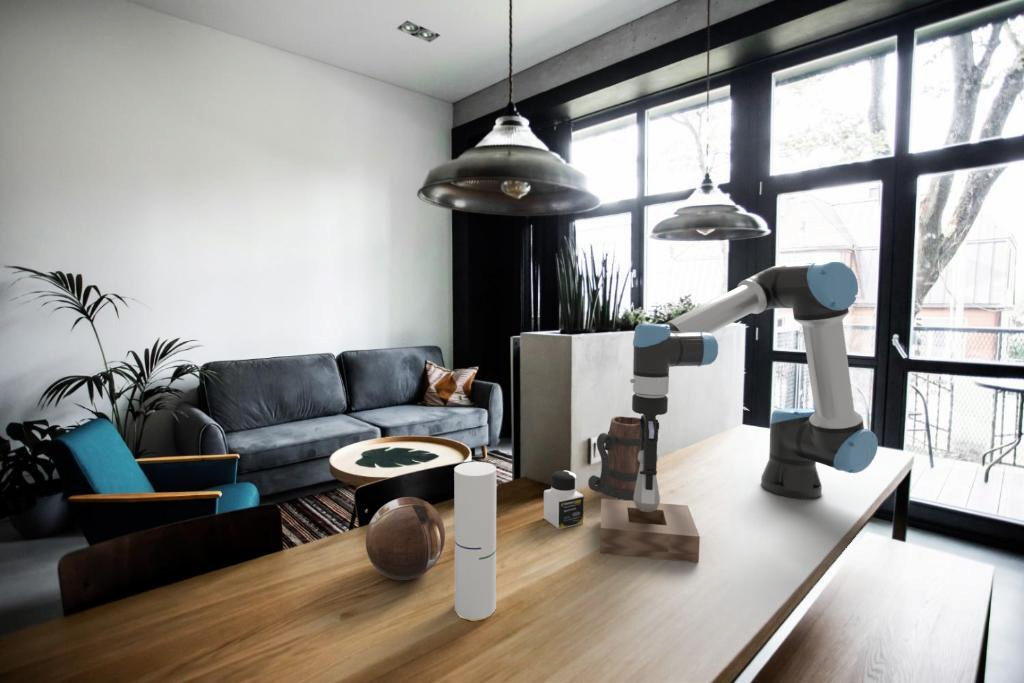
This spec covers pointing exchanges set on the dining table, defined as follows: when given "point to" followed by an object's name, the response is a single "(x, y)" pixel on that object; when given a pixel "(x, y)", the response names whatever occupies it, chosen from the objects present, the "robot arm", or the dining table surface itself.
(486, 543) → the cylindrical container
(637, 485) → the salt shaker
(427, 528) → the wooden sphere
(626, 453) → the tankard
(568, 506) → the medicine bottle
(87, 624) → the dining table surface
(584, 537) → the dining table surface
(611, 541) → the walnut socket block
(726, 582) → the dining table surface
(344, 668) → the dining table surface
